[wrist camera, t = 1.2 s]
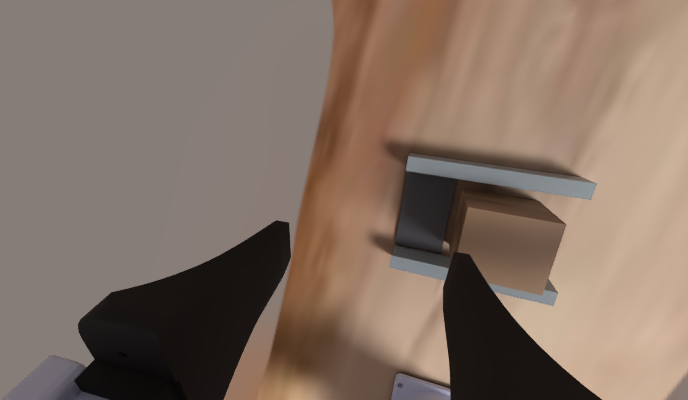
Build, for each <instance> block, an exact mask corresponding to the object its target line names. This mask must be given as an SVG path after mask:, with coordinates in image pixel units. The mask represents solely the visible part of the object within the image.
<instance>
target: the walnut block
mask: <svg viewBox="0 0 688 400" xmlns="http://www.w3.org/2000/svg"><path fill="white" fill-rule="evenodd" d="M565 227H566V224H565V223H564V222H563V221H562V220H560V219H559V218H558V217H557V216H556V215H555V214H553V213H552V212H551V211H550V210H549V209H547V208H546V207H545V206H544V205H543V204H542V203H540V202H539V201H535V200H529V199H523V198H517V197H511V196H505V195H499V194H493V193H486V192H480V191H474V190H468V189H462V190H461V195H460V199H459V204H458V208H457V213H456V217H455V221H454V226H453V230H452V235H451V239H450V244H449V246H450V257H451V260H452V256H453V253H454V252H460V253H465V254H470V256H471V257H472V259H473V261H474V262H475V264H476V265H477V267H478V269H479V270H480V272H481V274H482V275H483V277H484V278H485V280H486V281H487V283H490V284H494V285H498V286H503V287H507V288H511V289H516V290H520V291H524V292H529V293H533V294H537V295H543V292H544V289H545V286H546V283H547V280H548V277H549V274H550V271H551V268H552V265H553V263H554V260H555V257H556V254H557V251H558V248H559V245H560V242H561V239H562V236H563V233H564V230H565Z"/></svg>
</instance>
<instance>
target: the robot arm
mask: <svg viewBox="0 0 688 400" xmlns="http://www.w3.org/2000/svg"><path fill="white" fill-rule="evenodd" d="M290 258H291V251H290V232H289V223H288V222H282V221H275V222H273V223H271V224H270V225H268V226H267V227H265V228H264V229H262V230H261V231H259V232H258V233H256V234H255V235H253V236H252V237H250V238H248V239H247V240H245V241H244V242H242V243H240V244H239V245H237V246H235V247H233V248H232V249H230V250H228V251H226V252H225V253H223V254H221V255H220V256H217V257H215V258H213V259H211V260H209V261H207V262H205V263H203V264H201V265H198V266H196V267H193V268H191V269H188V270H186V271H183V272H181V273H178V274H176V275H173V276H170V277H167V278H164V279H161V280H157V281H154V282H151V283H147V284H144V285H140V286H137V287H132V288H129V289H124V290H120V291H116V292H112V293H110V294H109V295H108V296H107V297H106V298H105V299H103V301H101V302H100V303H99V304H98V305H96V306H95V307H94V308H93V309H92V310H91V311H90V312H88V313H87V314H86V315H85V316H84V317H83V318H82V319H81V320H80V321H79V323H78V329H79V333H80V336H81V338H82V339H83V341H84V343H85V344H86V346H87V348H88V349H89V351H90V353H91V354H92V356H93V357H94V359H95V360H94V361H93V362H92V363H91V364H90V365H89V366H88V367H87V368H86V367H85V366H84V365H82V364H81V363H79V362H76V361H72V360H69V359H66V358H62V357H59V356H55V355H51V356H49V357H48V358H47V359H46V360H45V361H43V362H42V363H41V364H40V365H39V366H38V367H37V368H36V369H35V370H33V371H32V372H31V373H30V374H29V375H28V376H27V377H26V378H25V379H24V380H22V381H21V382H20V383H19V384H18V385H17V386H16V387H14V388H13V389H12V390H11V391H10V392H9V393H8V394H7V395H6V396H5V397H3V398H2V399H1V400H223V399H224V397H225V394H226V392H227V389H228V387H229V384H230V382H231V379H232V377H233V374H234V372H235V369H236V367H237V365H238V362H239V360H240V358H241V355H242V353H243V351H244V348H245V346H246V344H247V342H248V339H249V337H250V335H251V333H252V331H253V328H254V326H255V324H256V322H257V321H258V318H259V317H260V315H261V313H262V312H263V310H264V308H265V307H266V305H267V303H268V301H269V299H270V298H271V296H272V295H273V293H274V291H275V290H276V288H277V286H278V284H279V282H280V281H281V279H282V277H283V275H284V273H285V271H286V268H287V266H288V263H289V261H290ZM443 313H444V322H445V331H446V339H447V347H448V355H449V366H450V389H449V388H446V387H443V386H440V385H436V384H433V383H430V382H427V381H424V380H421V379H417V378H414V377H411V376H408V375H405V374H401V373H399V374H397V375H396V377H395V382H394V387H393V392H392V397H391V400H602V399H600V398H599V397H598V396H596V395H595V394H594V393H592V392H591V391H590V390H589V389H587V388H586V387H585V386H583V385H582V384H581V383H580V382H579V381H578V380H576V379H575V378H574V377H573V376H572V375H570V374H569V373H568V372H567V371H566V370H565V369H563V368H562V367H561V366H560V365H559V364H558V363H557V362H556V361H555V360H553V359H552V358H551V357H550V356H549V355H548V354H547V353H546V352H545V351H544V350H543V349H542V348H541V347H540V346H539V345H538V344H537V343H536V342H535V341H534V340H533V339H532V338H531V337H530V336H529V335H528V334H527V333H526V332H525V330H524V329H523V328H522V327H521V326H520V325H519V324H518V323H517V322H516V320H515V319H514V318H513V317H512V316H511V314H510V313H509V312H508V311H507V309H506V308H505V307H504V305H503V304H502V303H501V301H500V300H499V299H498V297H497V296H496V294H495V293H494V292H493V290H492V289H491V287H490V286H489V284H488V283H487V281H486V280H485V278H484V277H483V275H482V274H481V272H480V270H479V269H478V267H477V265H476V264H475V262H474V261H473V259H472V257H471V256H470V254H465V253H460V252H454V253H453V256H452V260H451V263H450V266H449V270H448V273H447V276H446V280H445V283H444V287H443ZM398 383H401V384H402V385H401V384H398Z"/></svg>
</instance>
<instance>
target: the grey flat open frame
mask: <svg viewBox="0 0 688 400" xmlns="http://www.w3.org/2000/svg"><path fill="white" fill-rule="evenodd" d="M406 171H407V176H406V182H405V188H404V194H403V200H402V206H401V212H400V218H399V224H398V229H397V235H396V241H395V244H399V245H404V246H408V247H413V248H417V249H422V250H427V251H431V252H436V253H441V249H442V245H443V240H444V235H445V231H446V226H447V222H448V217H449V213H450V208H451V203H452V199H453V194H454V190H455V185H456V181H457V179H461V180H467V181H474V182H480V183H487V184H493V185H499V186H506V187H512V188H518V189H525V190H531V191H537V192H544V193H550V194H556V195H563V196H569V197H575V198H582V199H588V200H591V199H592V196H593V193H594V190H595V187H596V185H597V184H596V183H594V182H592V181H589V180H587V179H585V178H582V177H576V176H569V175H562V174H555V173H548V172H541V171H534V170H527V169H520V168H513V167H506V166H499V165H492V164H485V163H478V162H471V161H464V160H457V159H450V158H443V157H436V156H429V155H422V154H415V153H410V154H409V156H408V160H407V166H406ZM450 263H451V257H448V256H443V255H439V254H434V253H430V252H425V251H420V250H416V249H411V248H407V247H402V246H397V245H395V247H394V250H393V253H392V256H391V262H390V268H394V269H398V270H403V271H407V272H411V273H415V274H420V275H424V276H428V277H432V278H437V279H441V280H446V276H447V273H448V270H449V266H450ZM488 284H489V286H490V287H491V289H492V290H493V292H496V293H500V294H505V295H509V296H513V297H517V298H522V299H526V300H530V301H534V302H539V303H543V304H547V305H551V306H554V303H555V300H556V297H557V294H558V292H557V291H556V289H555V288H554V286H553V285H552V283H551V282H550V280H549V279H548V280H547V283H546V286H545V289H544V292H543V295H537V294H533V293H529V292H524V291H520V290H516V289H511V288H507V287H503V286H498V285H494V284H490V283H488Z"/></svg>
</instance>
